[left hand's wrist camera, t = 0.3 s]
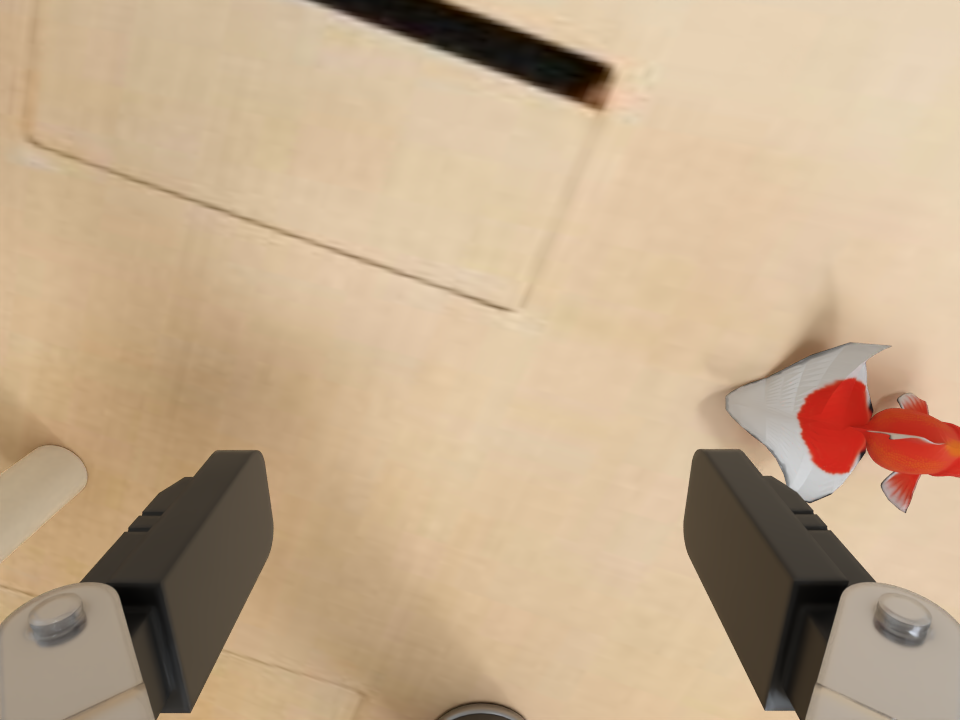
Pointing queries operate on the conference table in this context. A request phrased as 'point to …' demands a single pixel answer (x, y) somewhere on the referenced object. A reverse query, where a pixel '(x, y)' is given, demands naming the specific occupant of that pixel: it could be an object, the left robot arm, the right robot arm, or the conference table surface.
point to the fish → (843, 426)
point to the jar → (36, 493)
